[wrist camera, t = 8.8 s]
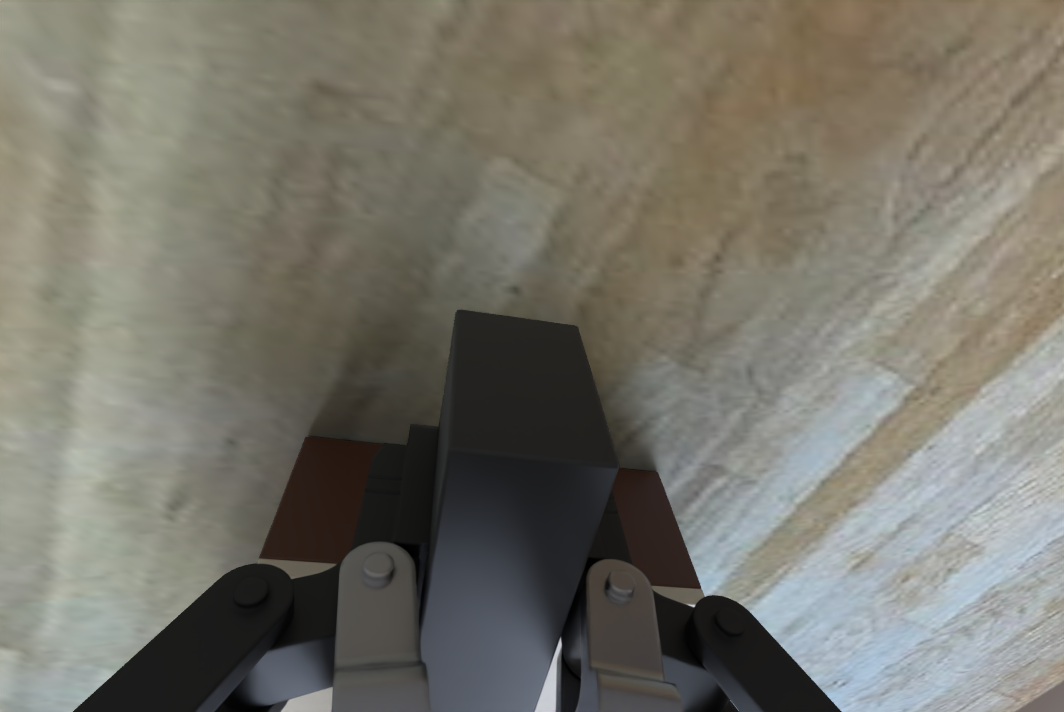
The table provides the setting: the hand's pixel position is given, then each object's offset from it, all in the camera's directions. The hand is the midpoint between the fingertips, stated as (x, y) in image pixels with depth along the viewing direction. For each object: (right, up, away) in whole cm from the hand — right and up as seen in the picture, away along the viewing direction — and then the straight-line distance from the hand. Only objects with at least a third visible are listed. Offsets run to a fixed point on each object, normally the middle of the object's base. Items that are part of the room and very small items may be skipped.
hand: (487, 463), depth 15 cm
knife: (-1, -5, +3) cm, 6 cm away
